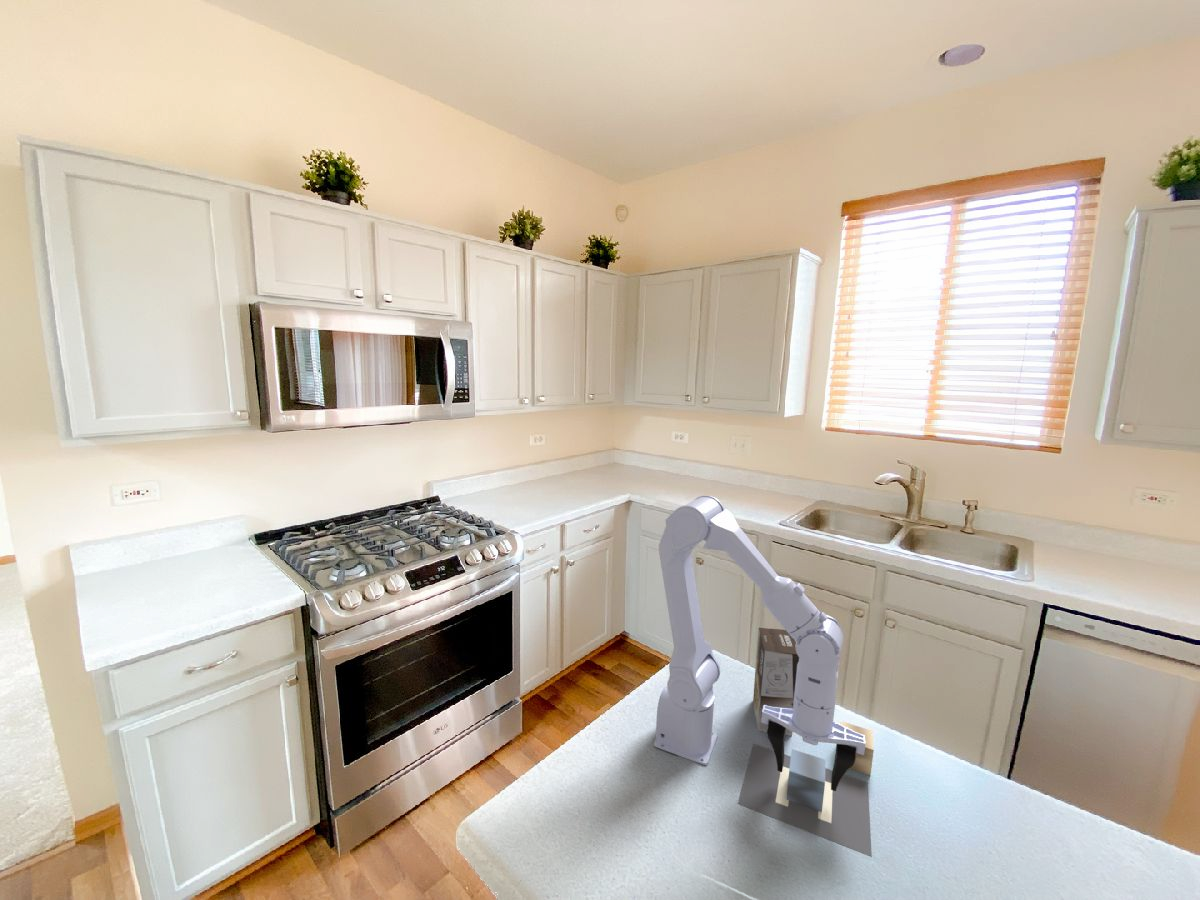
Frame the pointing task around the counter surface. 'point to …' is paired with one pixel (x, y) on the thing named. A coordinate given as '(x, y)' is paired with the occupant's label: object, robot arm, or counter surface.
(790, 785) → the slate blue cube
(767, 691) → the coffee box
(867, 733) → the oak block
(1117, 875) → the counter surface
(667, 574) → the robot arm
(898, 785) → the counter surface
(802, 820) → the letter mat
